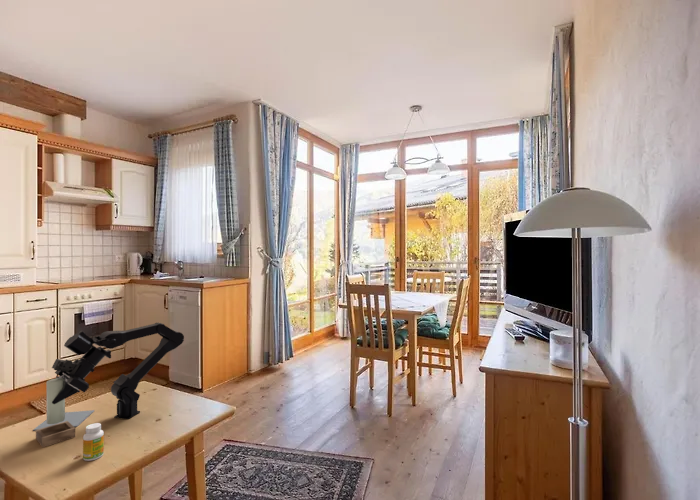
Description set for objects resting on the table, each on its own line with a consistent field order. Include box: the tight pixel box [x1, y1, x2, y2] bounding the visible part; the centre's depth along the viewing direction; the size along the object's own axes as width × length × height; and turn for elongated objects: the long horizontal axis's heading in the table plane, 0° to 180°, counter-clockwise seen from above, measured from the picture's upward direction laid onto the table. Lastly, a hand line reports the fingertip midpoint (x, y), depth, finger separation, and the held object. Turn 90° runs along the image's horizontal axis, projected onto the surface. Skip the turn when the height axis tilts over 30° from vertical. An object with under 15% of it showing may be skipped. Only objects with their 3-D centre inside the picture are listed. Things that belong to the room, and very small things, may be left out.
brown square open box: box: [35, 421, 76, 448], centre depth 130 cm, size 9×9×3 cm
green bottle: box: [45, 377, 66, 424], centre depth 130 cm, size 5×5×14 cm
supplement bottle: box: [82, 422, 105, 462], centre depth 118 cm, size 5×5×10 cm
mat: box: [32, 409, 95, 432], centre depth 143 cm, size 14×14×1 cm
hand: (50, 401), depth 129 cm, fingers closed on green bottle, 5 cm apart
